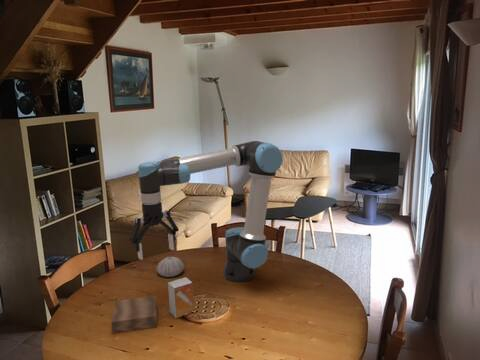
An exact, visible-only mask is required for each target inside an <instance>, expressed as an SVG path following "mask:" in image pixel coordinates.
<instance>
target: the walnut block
mask: <svg viewBox="0 0 480 360" xmlns="http://www.w3.org/2000/svg"><path fill="white" fill-rule="evenodd" d="M157 306H158V305H157V295H151V296H144V297H136V298H135V297H134V298H129V299H128V298H126V299H120V300H115V302H114V307H113V313H112V318H111V328H112V329H111V330H112V334H118V333H123V332H124V333H125V332H131V331H138V330H145V329H153V328H158V318H157V317H158V312H157V311H158V308H157Z"/></svg>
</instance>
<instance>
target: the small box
mask: <svg viewBox="0 0 480 360" xmlns="http://www.w3.org/2000/svg"><path fill="white" fill-rule="evenodd" d="M193 286H194V283H193V282H192V281H191V280H190V279H189V278H188V277H186V276H184V277H183V278H179V279H178V278H177V279H174V280H172V281H169V282H167V288H168V289H167V290H168V291H167V292H168V303H169V313H170V314H171V315H172V316H173V317H174V318H175V319H178V318H182V317H184V316H183V314H186V313H188V312H192V311H194V312H195V303H194V301H195V300H194V287H193Z"/></svg>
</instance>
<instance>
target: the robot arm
mask: <svg viewBox="0 0 480 360" xmlns="http://www.w3.org/2000/svg"><path fill="white" fill-rule="evenodd" d="M282 164H283V154H282V152H281V150H280V149H279V147H278V146H276V145H274V144H273V143H270V142H263V141H259V140H251V141H248V142H242V143H240V144H239V143H238V144H235V145H232V146H231V147H230V148H225V149H221V150H216V151H210V152H206V153H205V152H204V153H199V154H195V155H190V156H189V155H188V156H184V157H183V156H182V157H180V158H173V159H161V160H160V161H159V162H155V161H146V162H142V163H139V165H138V167H137V168H138V181H139V191H140V201H141V203H142V204H141V211H142V216H141V217H138V216H136V217H135V218H134V225H133V228H132V232H131V233H130V237H129V240H128V242H129V243H130V244H134V250H135V252H137V258H138V259H139V260H140V261H142V260H143V259H144V256H143V246H142V243H141V240H142V239H143V237H144V236H145V234H146V233H147V231H148V230H149V228H150V227H151V228H152V227H154V226H159V225H161V227H163V228H165V229H166V230H167V232H169V233H168V234H167V236H168V238H167V239H168V248H169V250H171V251H175V244H174V242H175V241H176V234H177V232H179V231H180V230H179V227H178V226H177V224H176V222H175V221H174V219H173V218H172V216H171V212H170V211H169V210H164V211H163V204H162V202H161V201H162V193H161V187H163V186H164V187H165V186H172V185H173V186H174V185H180V184H181V185H182V184H186V183H189V182H190V180H191V175H192V174H193V175H194V174H196V173H201V172H206V171H211V170H215V169H221V168H225V167H230V166H235V167H244V166H246V167H248V174H249V176H250V177H251V178H250V184H249V192H248V198H247V206H246V212H245V219H244V225H243V227H242V226H241V227H232V228H229V229H227V230H226V231H225V234H224V236H225V237H224V238H225V254H226V260H225V265H224V267H223V277H224V278H225V279H226V280H227V281H230V282H236V283H240V282H246V281H250V280H252V279H254V277H255V276H256V269H258V268H260V267H261V266H262V265H264V264H265V263H266V261H267V259H268V256H269V251H268V248H267V246H265V245H266V240H267V237H266V235H265V234H264V231H265V222H266V218H267V217H266V216H267V209H268V202H269V196H270V189H271V184H272V183H271V181H272V180H273V178H275V177H276V174H277V173H276V172H277V171H278V170H279V169H280V168H281V167H282ZM164 217H165V218H166V220H167V221H168V223H169V225H170V226H171V227H170V226H169V225H168V224H167V223H166V222H165V221H164V220H163V218H164ZM141 225H142V226H141ZM140 227H141V228H140Z"/></svg>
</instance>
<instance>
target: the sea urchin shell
mask: <svg viewBox="0 0 480 360" xmlns="http://www.w3.org/2000/svg"><path fill="white" fill-rule="evenodd" d="M184 270H185V265H184V262H183V261H182V260H181V259H180V258H179V257H176V256H166V257H165V258H163V259H161V261H159V263H158V264H157V266H156V272H157V274H159V276H162V277H165V278H170V277H172V278H173V277H175V276H176V277H177V276H178V275H180V274H181V273H182V272H183V271H184Z"/></svg>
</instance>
